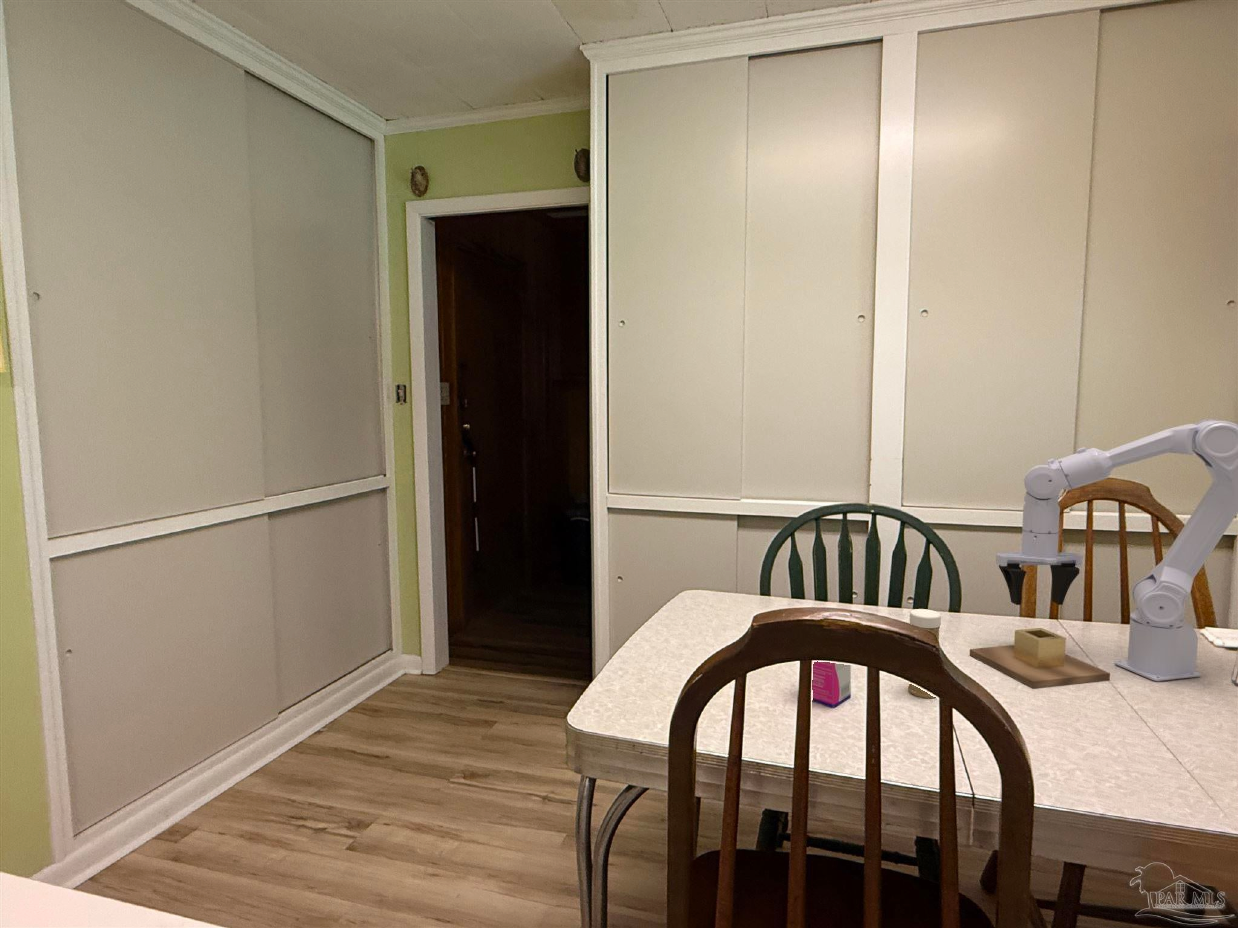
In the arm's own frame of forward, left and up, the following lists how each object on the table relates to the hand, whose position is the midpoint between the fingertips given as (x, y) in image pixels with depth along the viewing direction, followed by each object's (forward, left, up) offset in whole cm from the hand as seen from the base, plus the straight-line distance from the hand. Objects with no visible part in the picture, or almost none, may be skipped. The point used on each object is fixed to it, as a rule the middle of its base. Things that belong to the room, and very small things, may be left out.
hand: (1036, 603), depth 129 cm
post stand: (+5, +6, -9) cm, 12 cm away
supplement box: (+47, +9, -10) cm, 49 cm away
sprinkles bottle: (+31, +11, -10) cm, 34 cm away
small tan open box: (+5, +6, -8) cm, 12 cm away
